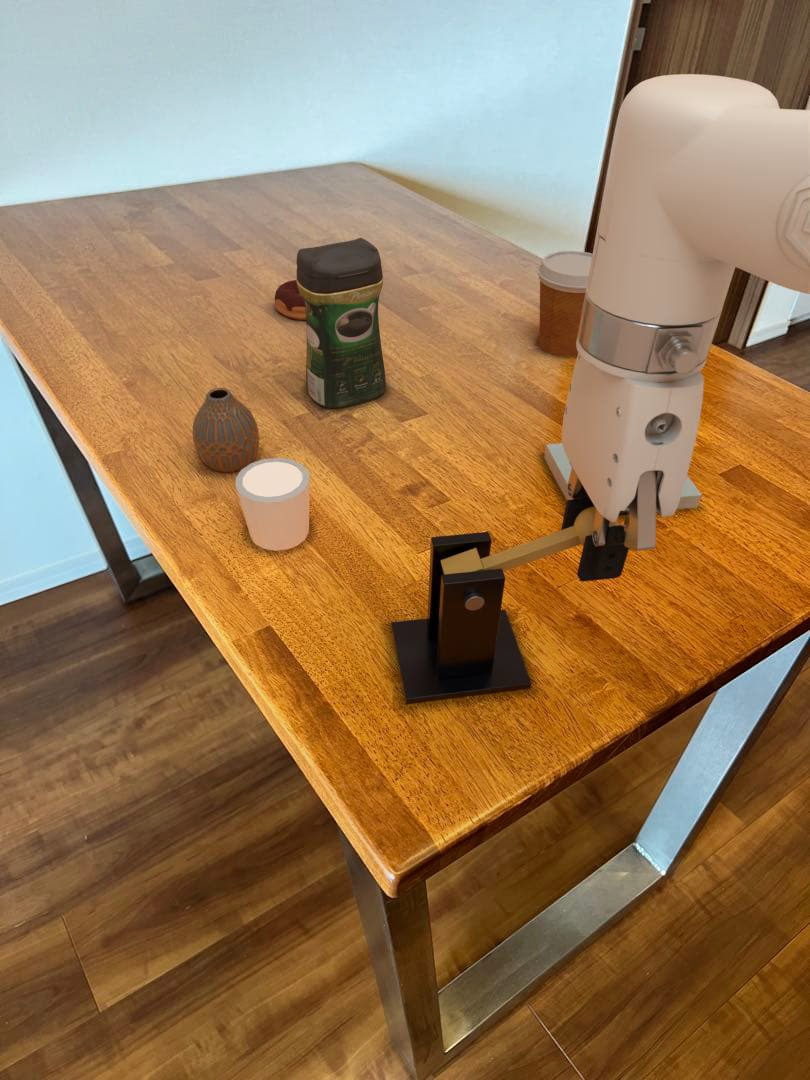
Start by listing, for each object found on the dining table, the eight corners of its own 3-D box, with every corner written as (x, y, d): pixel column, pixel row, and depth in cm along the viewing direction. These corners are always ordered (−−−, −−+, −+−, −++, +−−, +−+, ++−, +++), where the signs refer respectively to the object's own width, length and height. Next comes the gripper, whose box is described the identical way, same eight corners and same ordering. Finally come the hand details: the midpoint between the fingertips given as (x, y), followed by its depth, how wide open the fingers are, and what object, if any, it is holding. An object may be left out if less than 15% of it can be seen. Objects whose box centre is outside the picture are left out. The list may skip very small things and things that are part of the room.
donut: (348, 299, 113) (347, 273, 111) (337, 327, 106) (336, 300, 104) (284, 295, 114) (281, 270, 112) (269, 323, 107) (266, 297, 104)
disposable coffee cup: (575, 329, 106) (590, 246, 98) (609, 359, 100) (628, 272, 92) (516, 338, 104) (526, 253, 96) (546, 369, 97) (560, 281, 89)
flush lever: (612, 521, 55) (606, 491, 53) (628, 550, 52) (623, 519, 50) (449, 579, 56) (437, 552, 54) (458, 609, 54) (445, 582, 52)
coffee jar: (366, 371, 96) (362, 226, 84) (394, 399, 91) (394, 249, 79) (298, 388, 93) (283, 240, 81) (323, 418, 88) (312, 264, 75)
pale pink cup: (238, 521, 73) (228, 464, 69) (305, 507, 75) (299, 450, 71) (252, 566, 69) (242, 508, 64) (323, 549, 70) (318, 491, 66)
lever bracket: (503, 618, 64) (519, 515, 56) (529, 692, 58) (551, 588, 50) (391, 631, 63) (390, 527, 55) (405, 708, 57) (407, 604, 49)
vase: (267, 445, 83) (257, 377, 78) (256, 482, 78) (245, 411, 72) (207, 444, 83) (192, 376, 78) (192, 481, 78) (176, 410, 72)
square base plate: (652, 451, 83) (661, 421, 81) (696, 511, 75) (707, 480, 73) (543, 460, 82) (548, 430, 79) (575, 523, 74) (582, 492, 71)
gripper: (780, 396, 37) (684, 635, 49) (649, 270, 49) (597, 487, 61) (640, 407, 36) (577, 648, 48) (541, 276, 48) (511, 495, 60)
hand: (589, 556), depth 55 cm, fingers closed on flush lever, 3 cm apart
